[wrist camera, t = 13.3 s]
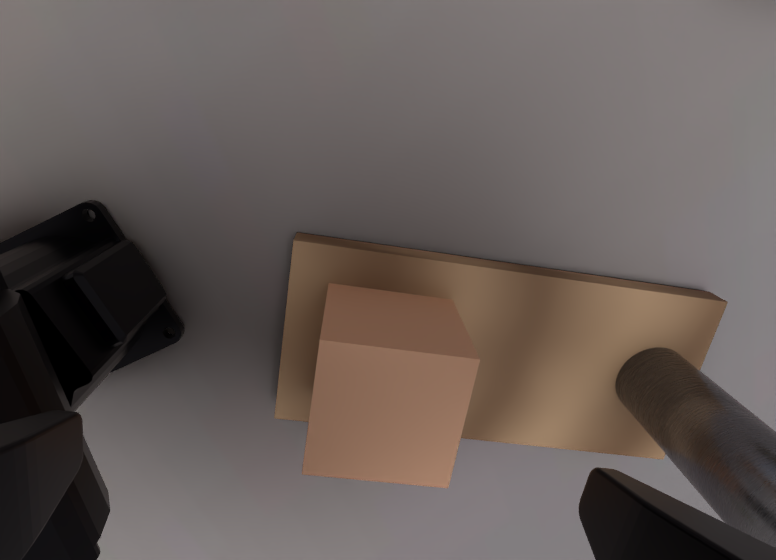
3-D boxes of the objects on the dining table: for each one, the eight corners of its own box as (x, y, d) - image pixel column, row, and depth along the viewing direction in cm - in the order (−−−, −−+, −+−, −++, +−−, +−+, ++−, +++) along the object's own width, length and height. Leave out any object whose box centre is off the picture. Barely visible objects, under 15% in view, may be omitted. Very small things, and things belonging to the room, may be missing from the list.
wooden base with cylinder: (278, 402, 23) (193, 732, 11) (296, 232, 21) (211, 423, 9) (649, 443, 25) (917, 762, 13) (709, 291, 23) (1110, 516, 11)
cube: (313, 392, 22) (301, 474, 17) (328, 282, 20) (319, 339, 15) (429, 405, 22) (448, 488, 18) (452, 299, 21) (480, 359, 16)
